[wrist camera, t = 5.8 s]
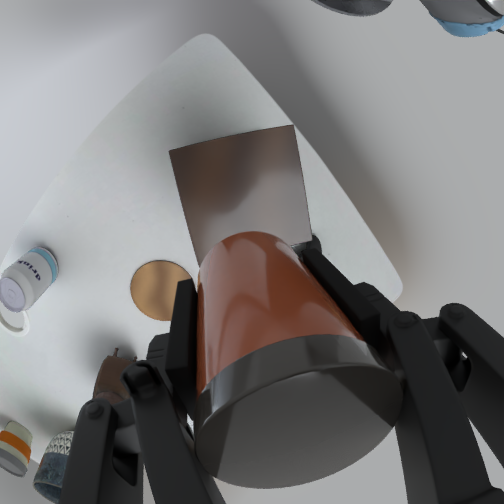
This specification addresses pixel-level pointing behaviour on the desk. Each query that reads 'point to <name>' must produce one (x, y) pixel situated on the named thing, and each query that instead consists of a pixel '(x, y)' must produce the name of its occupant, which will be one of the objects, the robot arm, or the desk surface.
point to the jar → (281, 371)
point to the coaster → (157, 288)
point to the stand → (242, 188)
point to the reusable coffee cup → (15, 449)
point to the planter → (53, 467)
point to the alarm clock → (111, 379)
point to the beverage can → (27, 279)
